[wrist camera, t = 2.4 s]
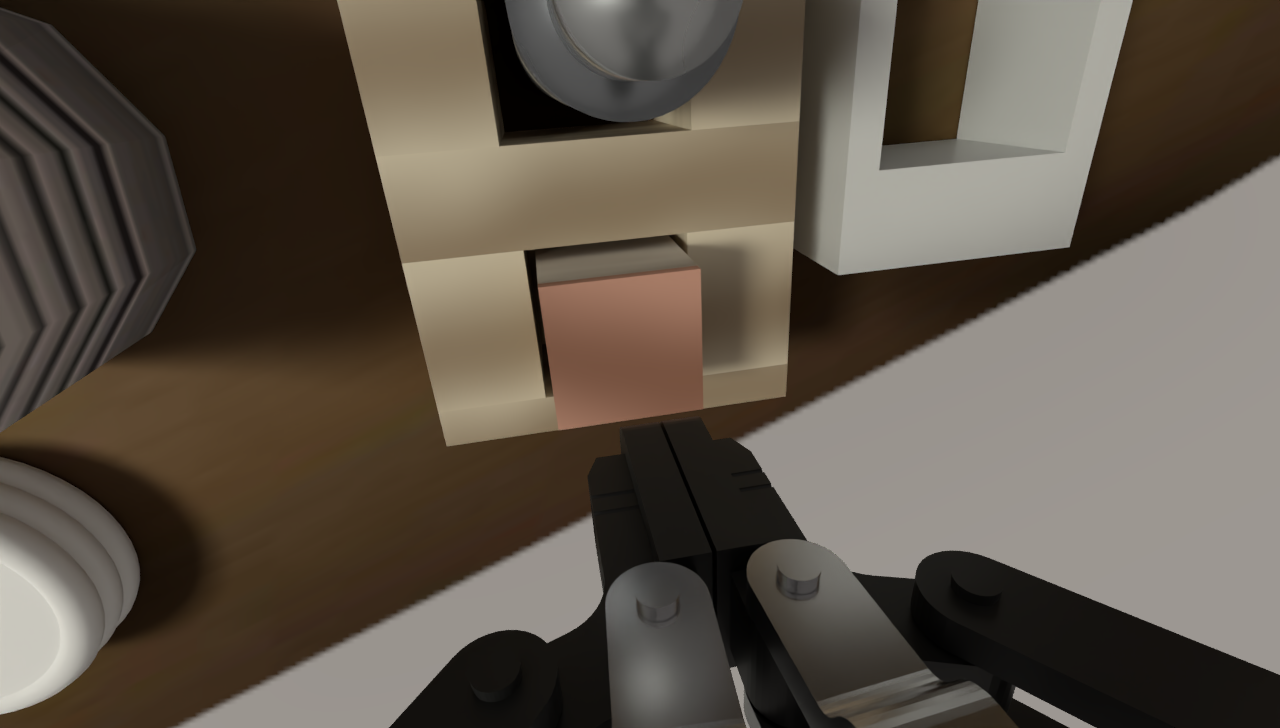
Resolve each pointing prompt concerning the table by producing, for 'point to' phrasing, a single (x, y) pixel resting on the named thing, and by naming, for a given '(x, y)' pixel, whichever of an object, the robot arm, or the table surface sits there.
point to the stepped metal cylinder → (622, 51)
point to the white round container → (56, 583)
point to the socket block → (576, 203)
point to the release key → (621, 329)
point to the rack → (956, 168)
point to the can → (76, 218)
